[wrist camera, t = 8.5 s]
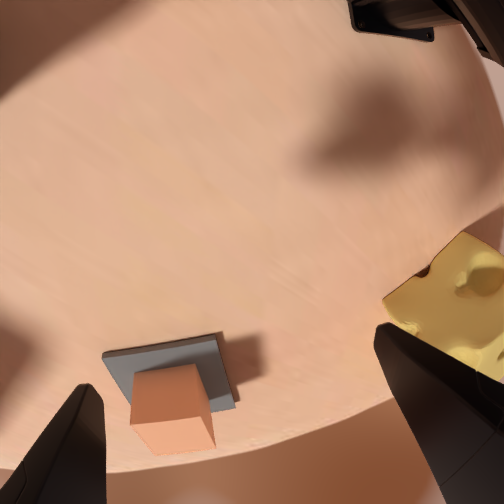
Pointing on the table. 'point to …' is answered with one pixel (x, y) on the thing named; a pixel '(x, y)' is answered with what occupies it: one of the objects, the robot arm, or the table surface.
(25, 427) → the table surface
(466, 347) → the cheese
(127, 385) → the coaster
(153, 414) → the cube
